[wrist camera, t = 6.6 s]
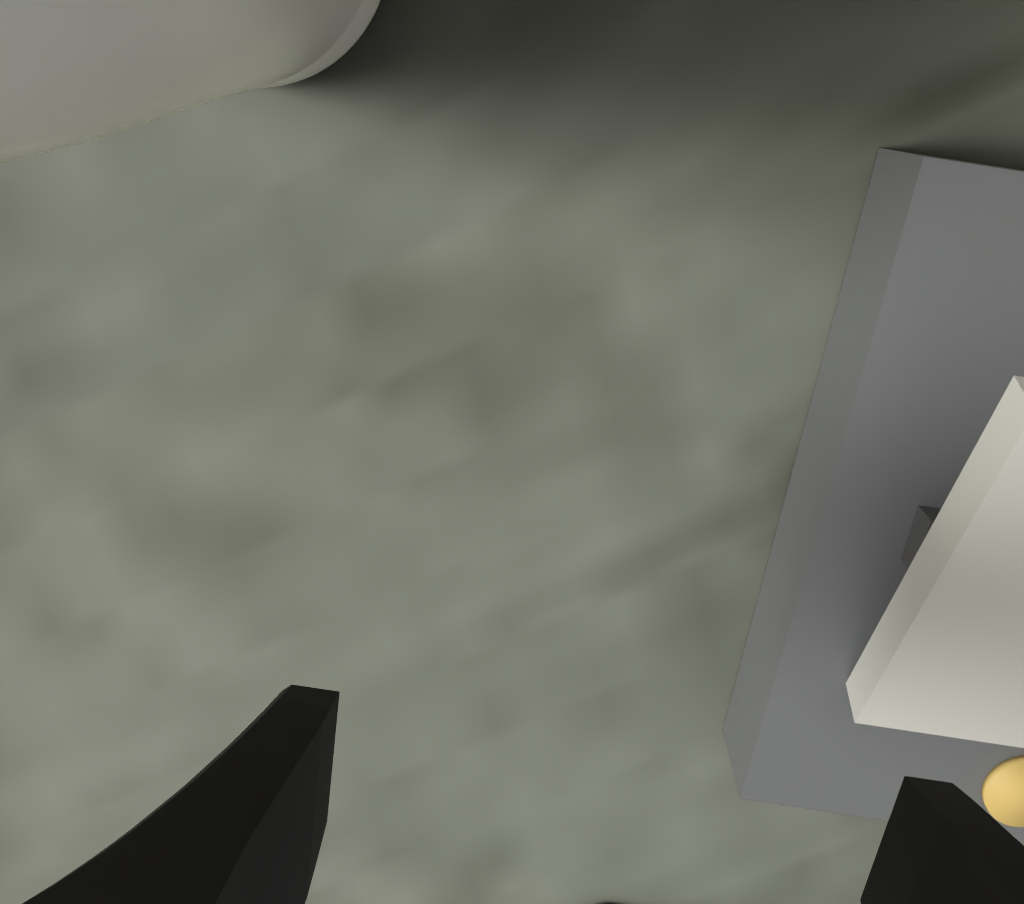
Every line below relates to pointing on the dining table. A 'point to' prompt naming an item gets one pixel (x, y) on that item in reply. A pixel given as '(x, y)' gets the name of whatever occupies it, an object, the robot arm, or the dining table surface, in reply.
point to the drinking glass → (152, 60)
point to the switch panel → (883, 489)
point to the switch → (959, 607)
